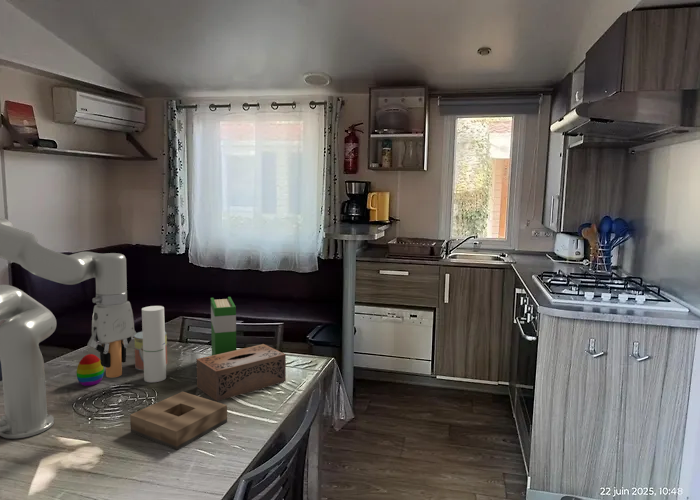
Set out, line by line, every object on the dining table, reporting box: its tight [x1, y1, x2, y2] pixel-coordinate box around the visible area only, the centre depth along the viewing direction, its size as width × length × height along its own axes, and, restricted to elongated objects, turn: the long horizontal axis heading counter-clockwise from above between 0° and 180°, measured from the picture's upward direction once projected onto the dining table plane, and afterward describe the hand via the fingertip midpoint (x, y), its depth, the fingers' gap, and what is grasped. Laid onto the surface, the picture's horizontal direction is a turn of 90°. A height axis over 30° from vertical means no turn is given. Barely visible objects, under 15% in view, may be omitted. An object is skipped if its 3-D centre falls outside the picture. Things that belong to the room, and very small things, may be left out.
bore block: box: [129, 391, 228, 451], centre depth 136 cm, size 18×18×5 cm
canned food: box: [133, 330, 168, 371], centre depth 183 cm, size 11×11×12 cm
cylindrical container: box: [141, 305, 167, 383], centre depth 169 cm, size 7×7×25 cm
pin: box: [105, 340, 123, 379], centre depth 135 cm, size 4×4×12 cm
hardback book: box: [210, 296, 237, 356], centre depth 184 cm, size 18×7×24 cm, turn 20°
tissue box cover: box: [196, 343, 287, 402], centre depth 166 cm, size 26×14×10 cm, turn 131°
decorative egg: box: [76, 353, 105, 387], centre depth 165 cm, size 8×8×10 cm
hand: (113, 363), depth 135 cm, fingers closed on pin, 4 cm apart
